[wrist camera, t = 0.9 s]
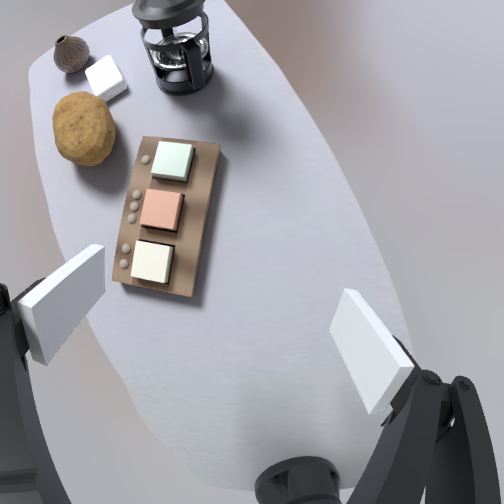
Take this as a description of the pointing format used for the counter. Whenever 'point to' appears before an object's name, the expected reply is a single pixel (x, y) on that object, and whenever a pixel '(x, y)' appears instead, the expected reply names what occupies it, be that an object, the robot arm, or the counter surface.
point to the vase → (70, 53)
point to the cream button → (152, 261)
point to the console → (190, 221)
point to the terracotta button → (162, 209)
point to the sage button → (173, 161)
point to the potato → (83, 128)
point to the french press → (176, 43)
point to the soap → (105, 79)
